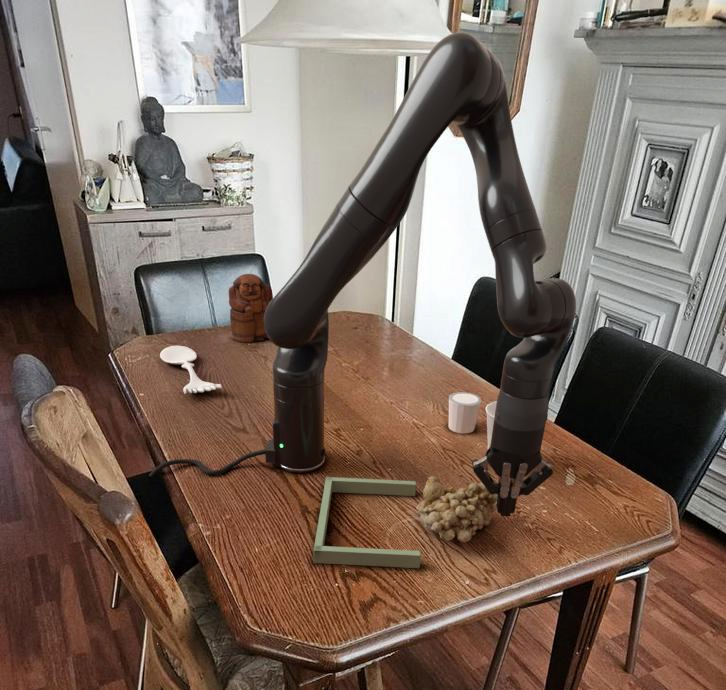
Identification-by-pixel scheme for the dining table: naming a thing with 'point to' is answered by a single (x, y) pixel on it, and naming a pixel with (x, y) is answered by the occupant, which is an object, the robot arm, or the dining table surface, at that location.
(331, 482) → the frame
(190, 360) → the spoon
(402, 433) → the dining table surface
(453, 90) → the robot arm
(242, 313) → the wooden figurine
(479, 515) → the mineral formation
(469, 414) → the white short cylinder
